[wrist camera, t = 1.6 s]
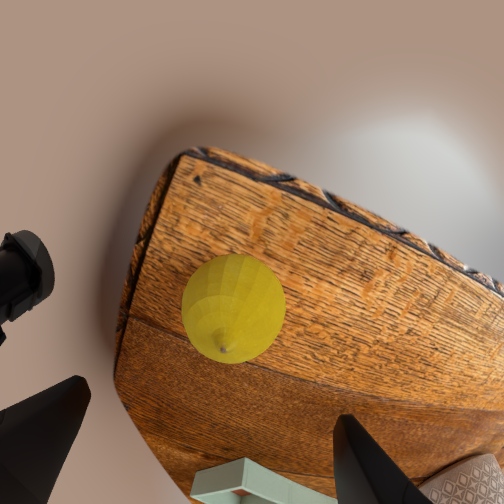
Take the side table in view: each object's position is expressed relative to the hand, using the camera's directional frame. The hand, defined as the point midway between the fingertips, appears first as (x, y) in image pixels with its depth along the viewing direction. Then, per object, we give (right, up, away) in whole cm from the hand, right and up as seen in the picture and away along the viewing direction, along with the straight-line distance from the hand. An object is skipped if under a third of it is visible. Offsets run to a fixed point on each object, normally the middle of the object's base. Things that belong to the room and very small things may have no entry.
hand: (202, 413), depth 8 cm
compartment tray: (+6, -29, +21) cm, 36 cm away
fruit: (+1, +4, +11) cm, 12 cm away
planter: (+36, -35, +21) cm, 54 cm away
